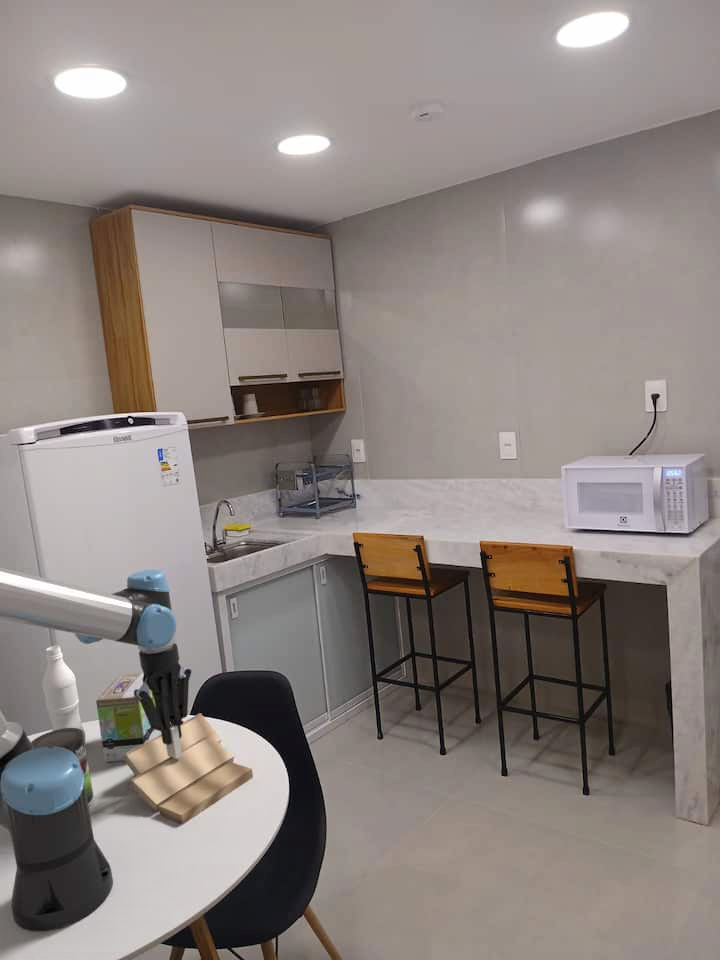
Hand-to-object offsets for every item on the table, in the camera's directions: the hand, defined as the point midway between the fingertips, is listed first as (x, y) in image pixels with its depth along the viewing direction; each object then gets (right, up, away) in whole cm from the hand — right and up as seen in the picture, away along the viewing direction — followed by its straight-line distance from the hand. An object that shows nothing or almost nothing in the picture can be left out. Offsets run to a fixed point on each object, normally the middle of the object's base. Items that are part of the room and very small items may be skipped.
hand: (175, 755), depth 152 cm
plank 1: (-2, -2, +7) cm, 8 cm away
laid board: (+8, -5, -7) cm, 12 cm away
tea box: (-14, -5, +19) cm, 24 cm away
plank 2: (+2, -3, -1) cm, 4 cm away
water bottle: (-29, -6, +20) cm, 36 cm away
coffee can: (-20, -9, -4) cm, 23 cm away
